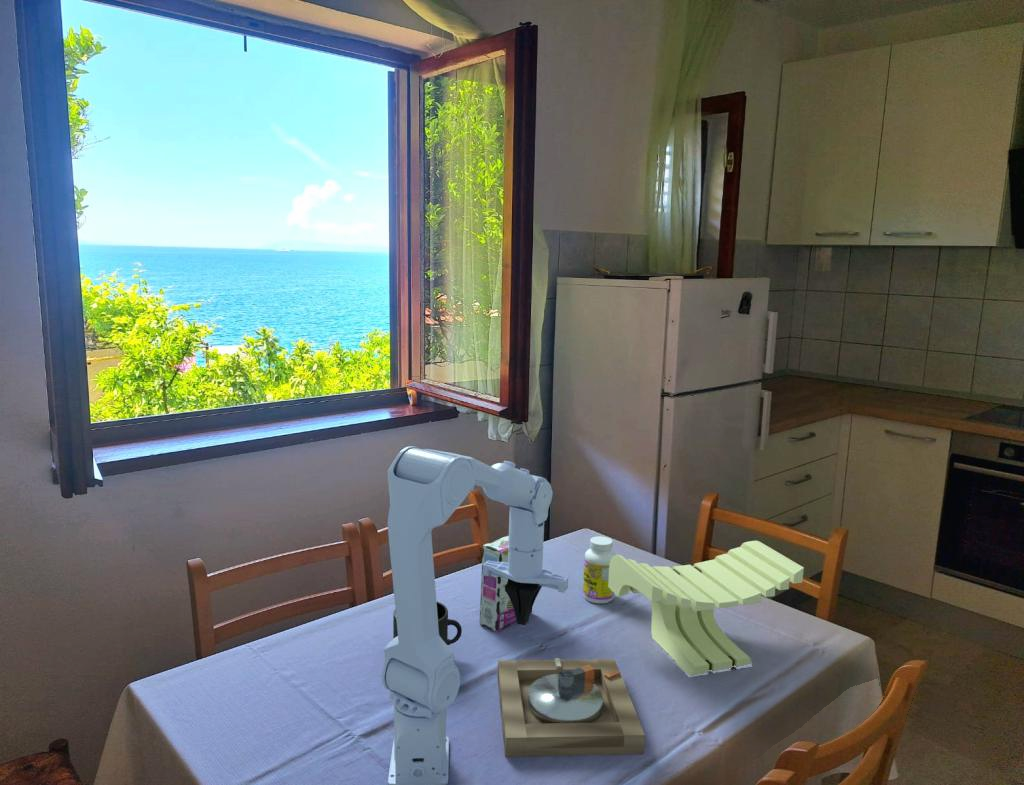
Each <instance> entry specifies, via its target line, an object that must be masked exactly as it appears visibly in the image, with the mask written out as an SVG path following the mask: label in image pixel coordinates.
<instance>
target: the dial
mask: <svg viewBox="0 0 1024 785" xmlns="http://www.w3.org/2000/svg"><path fill="white" fill-rule="evenodd" d="M594 670H595V669H594V668H593V667H592V666H591V665H589V664H588V665H585V666H582V667H580V668H577V669H573V670H570V671H567V670H564V671H561V672H559V674H552V675H547V676H544V677H541V678H539V679H537V680H536V681H535V682H533V683H532V685H531V686H530V688H529V691H528V706H529V709H530V711H531V712H532V713H533V715H534V716H536V717H537V718H538V719H540V720H541V721H543V722H545V723H547V724H553V723H592V722H594V721H595V720H596V719H598V717H599V716H600V715H601V712H602V706H603V695H602V692H601V691H600V689H599V688H598V687H597V686H596V685H595V684H594Z"/></svg>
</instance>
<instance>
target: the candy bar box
mask: <svg viewBox="0 0 1024 785" xmlns="http://www.w3.org/2000/svg"><path fill="white" fill-rule="evenodd" d="M508 545H509V534H508V535H506V536H503V537H501V538H500V537H499V538H498V539H496V540H493V541H490V542H488V543H485V544H483V545H482V558H481V579H480V580H481V584H480V606H479V607H480V608H479V624H480V625H481V626H482V627H484V628H487V629H489V630H491V631H493V632H495V633H499V632H501V631H502V630H504V629H505V628H508V627H509V626H511V625H513V624H515V623H517V620H516V615H515V611H514V608H513V605H512V602H511V600H510V598H509V596H508V594H507V593H506V591H505V585H506V584H507V582H508V579H507V578H503V577H498V576H493V575H489V576H485V575H483V564H484V563H485V562H487V561H488V560H489V561H495V562H508ZM532 613H533V609H532V610H531V613H530V614H532Z"/></svg>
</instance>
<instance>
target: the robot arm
mask: <svg viewBox="0 0 1024 785" xmlns="http://www.w3.org/2000/svg"><path fill="white" fill-rule="evenodd" d="M387 484H388V494H389V510H388V515H387V516H388V517H387V532H388V535H387V536H388V542H389V543H388V544H389V554H390V555H389V556H390V566H391V567H390V568H391V574H392V576H391V577H392V587H393V597H394V598H393V599H394V607H395V608H394V610H396V621H397V631H398V636H397V637H395V638H394V639H393V638H392V639H391V640H390V642H388V644H387V645H386V646H385V647H384V649H383V652H384V662H383V666H382V670H381V671H382V672H381V682H382V685H383V687H384V688H385V689H386V690H388V691H390V692H389V696H390V697H389V698H390V700H391V701H393V703H394V705H393V708H394V710H393V712H394V714H393V721H394V722H393V727H394V728H393V733H394V734H393V740H392V741H393V742H392V748H391V755H390V762H389V771H388V775H387V776H388V778H387V785H448V783H449V763H450V762H449V758H450V756H449V755H450V754H449V752H450V750H449V749H450V746H449V745H450V738H449V736H447V714H448V713H447V712H448V711H447V709H448V708H449V707H450V706H451V705H452V704H453V703H454V701H455V700H456V698H457V696H458V693H459V691H460V685H461V674H460V670H459V668H458V667H457V666H456V663H455V654H454V653H453V651H452V649H451V648H450V647H449V645H446V643H445V642H444V641H443V640H442V638H441V637H440V636H439V628H438V615H437V602H438V601H437V591H436V577H435V566H434V553H433V552H434V551H433V539H432V537H433V536H432V531H433V529H434V528H438V527H441V526H443V525H444V524H445V523H446V522H447V521H448V520H449V519H450V517H452V515H453V514H454V512H455V511H456V510H457V509H458V508H459V507H460V506H461V504H462V503H463V502H464V501H465V499H467V497H468V495H469V493H470V492H473V491H474V487H475V486H477V487H481V488H482V490H483V492H484V494H485V496H486V497H487V498H489V499H490V500H493V501H496V502H499V503H502V504H504V505H505V507H508V506H509V514H508V515H509V517H508V518H509V519H508V520H509V521H508V522H509V523H508V535H509V545H508V562H495V561H489V560H488V561H487V562H485V563H484V564H483V575H485V576H489V575H493V576H498V577H503V578H507V579H508V582H507V584H506V585H505V591H506V593H507V594H508V596H509V598H510V600H511V602H512V605H513V608H514V611H515V615H516V620H517V621H516V624H517V625H519V626H523V627H525V626H526V625H527V624H528V623H529V621H530V617H531V614H532V613H531V610H532V611H533V606H534V604H535V602H536V599H537V596H538V595H539V592H540V591H541V590H542V587H544V588H548V589H553V590H557V591H558V593H561V594H562V593H563V594H564V593H565V592H566V590H568V588H569V577H568V576H564V575H561V574H559V573H556V572H553V571H551V570H548V569H546V568H544V567H543V564H544V563H543V561H544V560H543V559H544V558H543V557H544V537H545V536H544V535H545V534H544V533H545V521H547V519H548V517H549V508H550V505H551V503H552V498H553V496H554V495H553V494H554V493H553V492H554V491H553V490H552V485H551V483H550V482H549V481H548V480H547V479H546V478H545V477H542V476H538V475H533V474H530V470H528V469H526V468H521V467H520V469H518V468H516V463H515V462H512V461H507V460H504V461H503V462H497V463H494V464H492V465H488V464H486V463H484V462H482V461H481V460H478V459H476V458H474V457H472V456H467V455H461V454H458V453H454V452H447V451H443V450H436V449H430V448H423V449H422V448H419V447H417V446H413V445H410V446H405V447H404V448H403V449H401V450H400V452H399V453H397V455H396V456H395V458H394V460H393V462H391V465H390V467H389V468H388V469H387ZM436 601H437V602H436Z"/></svg>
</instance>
